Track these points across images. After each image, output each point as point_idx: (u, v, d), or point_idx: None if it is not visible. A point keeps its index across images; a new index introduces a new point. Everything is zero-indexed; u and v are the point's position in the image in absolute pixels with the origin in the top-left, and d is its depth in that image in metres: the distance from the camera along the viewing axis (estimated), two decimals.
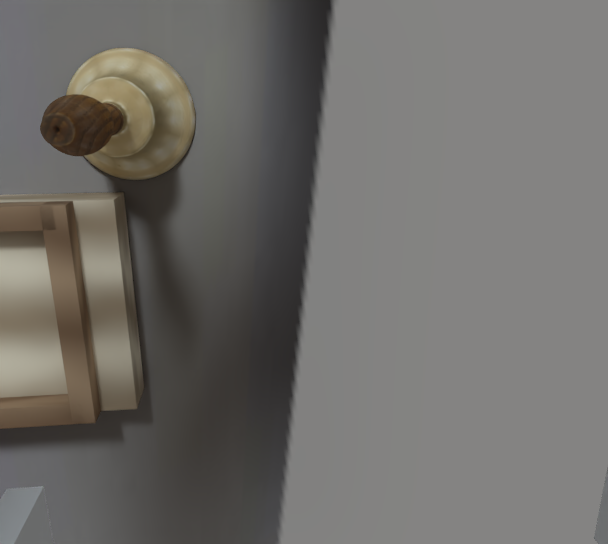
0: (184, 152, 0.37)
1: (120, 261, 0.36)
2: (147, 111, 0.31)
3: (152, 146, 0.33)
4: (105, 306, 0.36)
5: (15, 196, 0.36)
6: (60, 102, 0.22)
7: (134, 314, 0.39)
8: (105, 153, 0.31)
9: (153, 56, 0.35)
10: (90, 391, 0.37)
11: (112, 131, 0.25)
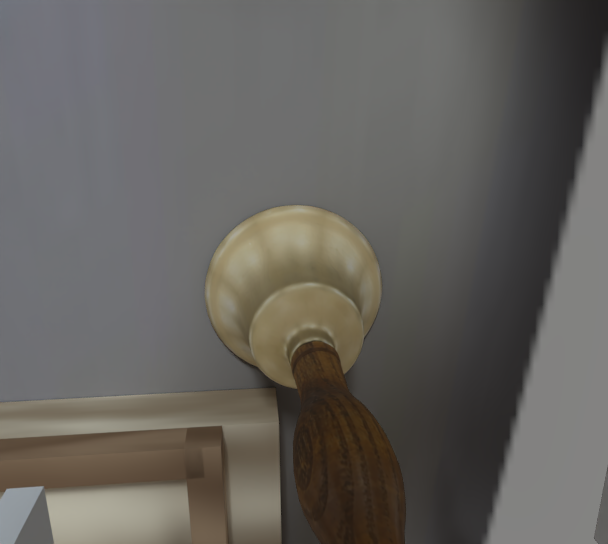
0: None
1: None
2: (357, 330, 0.21)
3: None
4: None
5: (132, 403, 0.26)
6: (355, 487, 0.12)
7: None
8: (290, 386, 0.21)
9: (334, 216, 0.24)
10: None
11: None
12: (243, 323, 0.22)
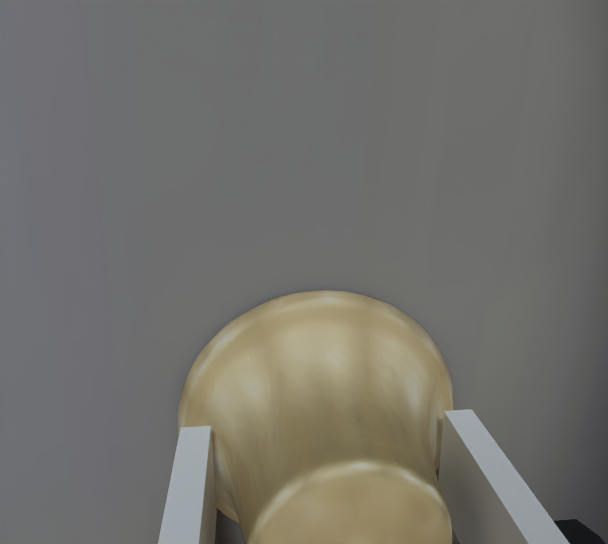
0: None
1: None
2: (444, 540, 0.11)
3: None
4: None
5: None
6: None
7: None
8: None
9: (384, 308, 0.15)
10: None
11: None
12: (237, 508, 0.13)
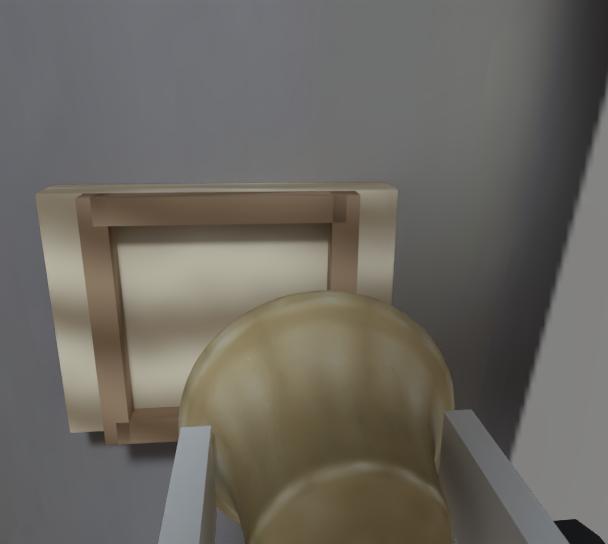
0: None
1: None
2: (445, 540, 0.11)
3: None
4: None
5: (278, 185, 0.33)
6: None
7: None
8: None
9: (384, 308, 0.15)
10: None
11: None
12: (239, 508, 0.13)
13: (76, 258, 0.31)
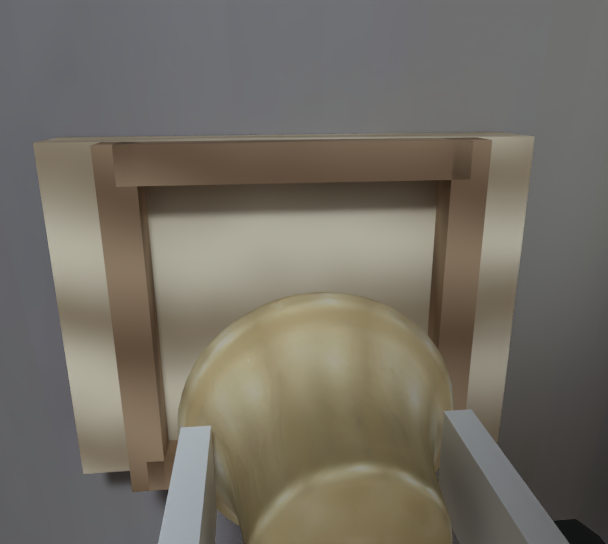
0: None
1: None
2: (444, 543, 0.11)
3: None
4: (488, 299, 0.25)
5: (363, 134, 0.24)
6: None
7: None
8: None
9: (384, 310, 0.15)
10: None
11: None
12: (237, 510, 0.13)
13: (91, 235, 0.22)
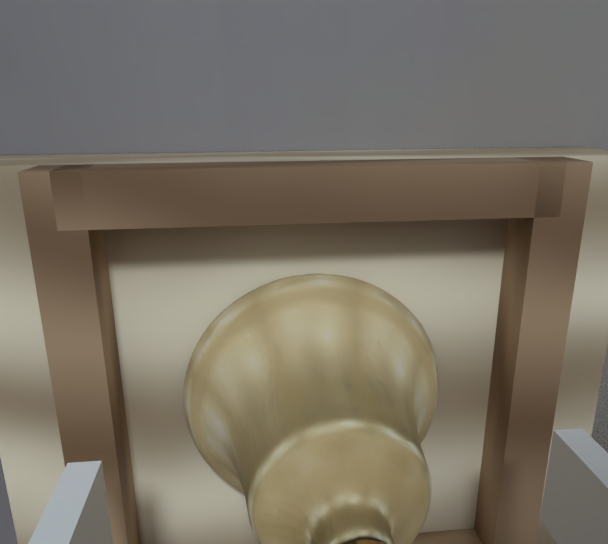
0: None
1: None
2: (423, 491, 0.13)
3: None
4: (567, 369, 0.19)
5: (402, 151, 0.18)
6: None
7: None
8: None
9: (372, 290, 0.17)
10: (534, 535, 0.19)
11: None
12: (239, 468, 0.14)
13: (29, 293, 0.16)
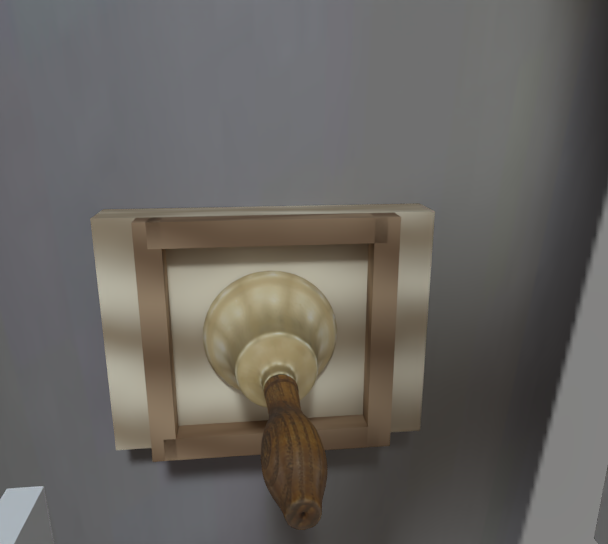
0: None
1: None
2: (312, 365, 0.29)
3: None
4: (407, 323, 0.35)
5: (318, 207, 0.34)
6: (294, 465, 0.20)
7: None
8: (265, 406, 0.29)
9: (299, 279, 0.33)
10: (390, 412, 0.35)
11: None
12: (231, 360, 0.30)
13: (127, 279, 0.32)
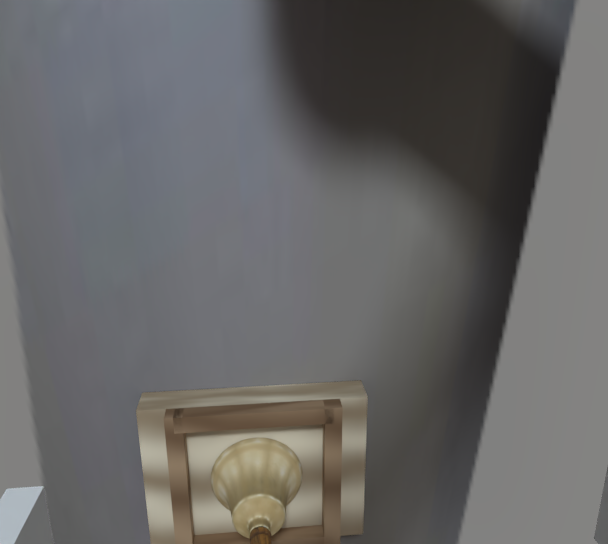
0: None
1: None
2: (282, 513, 0.45)
3: None
4: (351, 466, 0.50)
5: (289, 388, 0.50)
6: None
7: None
8: None
9: (275, 443, 0.48)
10: (339, 527, 0.51)
11: None
12: (229, 506, 0.46)
13: (160, 446, 0.48)
